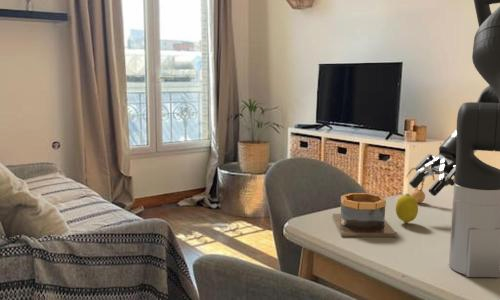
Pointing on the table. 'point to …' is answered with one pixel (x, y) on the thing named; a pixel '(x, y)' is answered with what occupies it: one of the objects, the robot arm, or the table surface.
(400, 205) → the lemon
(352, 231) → the pot on wooden stand
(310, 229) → the table surface
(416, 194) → the figurine
